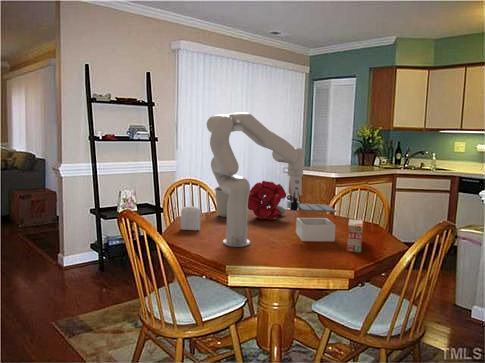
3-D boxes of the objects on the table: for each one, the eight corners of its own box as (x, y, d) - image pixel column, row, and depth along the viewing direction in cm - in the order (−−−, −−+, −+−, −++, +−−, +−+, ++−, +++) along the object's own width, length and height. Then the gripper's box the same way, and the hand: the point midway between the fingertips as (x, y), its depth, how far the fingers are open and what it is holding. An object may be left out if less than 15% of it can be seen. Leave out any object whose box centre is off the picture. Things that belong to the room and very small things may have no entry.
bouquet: (261, 223, 262) (234, 205, 241) (275, 190, 267) (250, 170, 246) (288, 232, 248) (262, 213, 226) (302, 197, 253) (278, 176, 231)
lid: (290, 210, 194) (291, 204, 194) (285, 204, 211) (285, 199, 210) (335, 212, 196) (336, 206, 195) (326, 206, 212) (327, 200, 212)
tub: (334, 241, 198) (335, 225, 197) (302, 241, 197) (302, 224, 196) (325, 233, 214) (326, 218, 213) (295, 232, 213) (296, 217, 212)
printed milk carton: (348, 239, 203) (349, 215, 201) (361, 240, 201) (362, 216, 199) (346, 251, 182) (348, 224, 181) (361, 252, 181) (362, 225, 179)
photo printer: (200, 229, 216) (201, 206, 214) (199, 231, 212) (199, 207, 210) (181, 228, 217) (182, 205, 215) (179, 230, 213) (180, 206, 211)
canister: (213, 212, 260) (214, 179, 257) (242, 212, 261) (243, 180, 258) (213, 218, 242) (214, 183, 239) (244, 219, 243) (245, 184, 240)
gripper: (306, 174, 193) (304, 213, 195) (299, 171, 209) (297, 206, 211) (290, 174, 192) (288, 212, 194) (285, 171, 209) (283, 206, 211)
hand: (293, 209), depth 203 cm, fingers closed on lid, 3 cm apart
